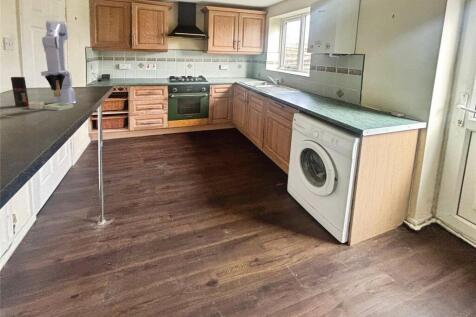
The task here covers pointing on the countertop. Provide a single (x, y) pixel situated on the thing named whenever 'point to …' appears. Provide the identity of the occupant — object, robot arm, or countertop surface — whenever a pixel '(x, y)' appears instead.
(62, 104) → the tray
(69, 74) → the robot arm
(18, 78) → the deodorant
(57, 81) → the dowel
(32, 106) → the white octagonal bowl
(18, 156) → the countertop surface
